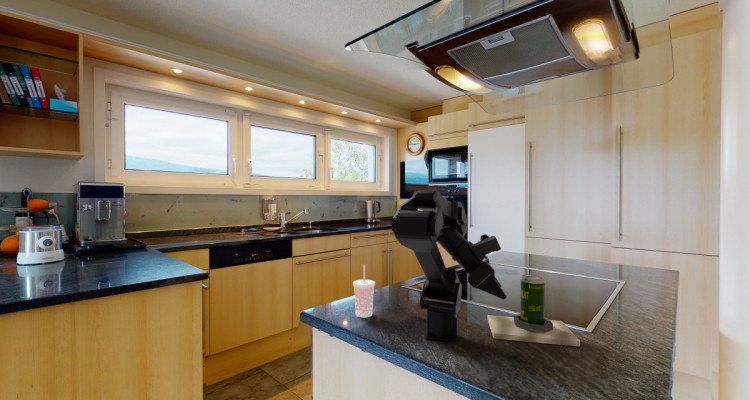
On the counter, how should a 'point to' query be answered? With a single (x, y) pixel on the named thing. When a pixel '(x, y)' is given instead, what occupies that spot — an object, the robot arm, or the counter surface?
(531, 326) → the board with grey ring
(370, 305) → the beverage cup
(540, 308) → the beer can
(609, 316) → the counter surface
